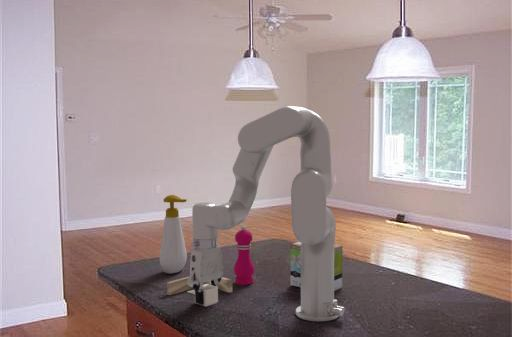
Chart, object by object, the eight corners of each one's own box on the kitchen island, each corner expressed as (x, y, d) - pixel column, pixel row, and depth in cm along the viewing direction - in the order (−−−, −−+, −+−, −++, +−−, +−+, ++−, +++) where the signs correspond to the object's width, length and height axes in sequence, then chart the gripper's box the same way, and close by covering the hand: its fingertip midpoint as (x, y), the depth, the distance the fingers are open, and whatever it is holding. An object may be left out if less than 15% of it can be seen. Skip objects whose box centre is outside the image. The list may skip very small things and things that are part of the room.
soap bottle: (177, 278, 194) (175, 197, 192) (154, 274, 199) (151, 196, 196) (196, 269, 205) (195, 193, 203) (174, 266, 210) (172, 192, 208)
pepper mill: (252, 286, 183) (251, 227, 182) (231, 285, 185) (230, 227, 183) (256, 280, 190) (255, 224, 189) (236, 279, 192) (235, 223, 190)
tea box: (289, 286, 183) (289, 243, 182) (307, 279, 190) (307, 238, 189) (325, 295, 173) (325, 249, 171) (343, 288, 180) (343, 244, 179)
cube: (218, 302, 167) (217, 286, 166) (205, 306, 163) (205, 290, 163) (207, 299, 170) (206, 283, 170) (195, 303, 167) (194, 287, 166)
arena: (232, 291, 177) (232, 279, 177) (195, 303, 166) (195, 291, 165) (204, 283, 187) (203, 272, 186) (167, 294, 175) (166, 282, 175)
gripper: (192, 250, 156) (193, 311, 158) (233, 240, 169) (234, 297, 170) (175, 246, 161) (177, 305, 163) (217, 237, 174) (218, 292, 175)
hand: (206, 300), depth 167 cm, fingers closed on cube, 5 cm apart
